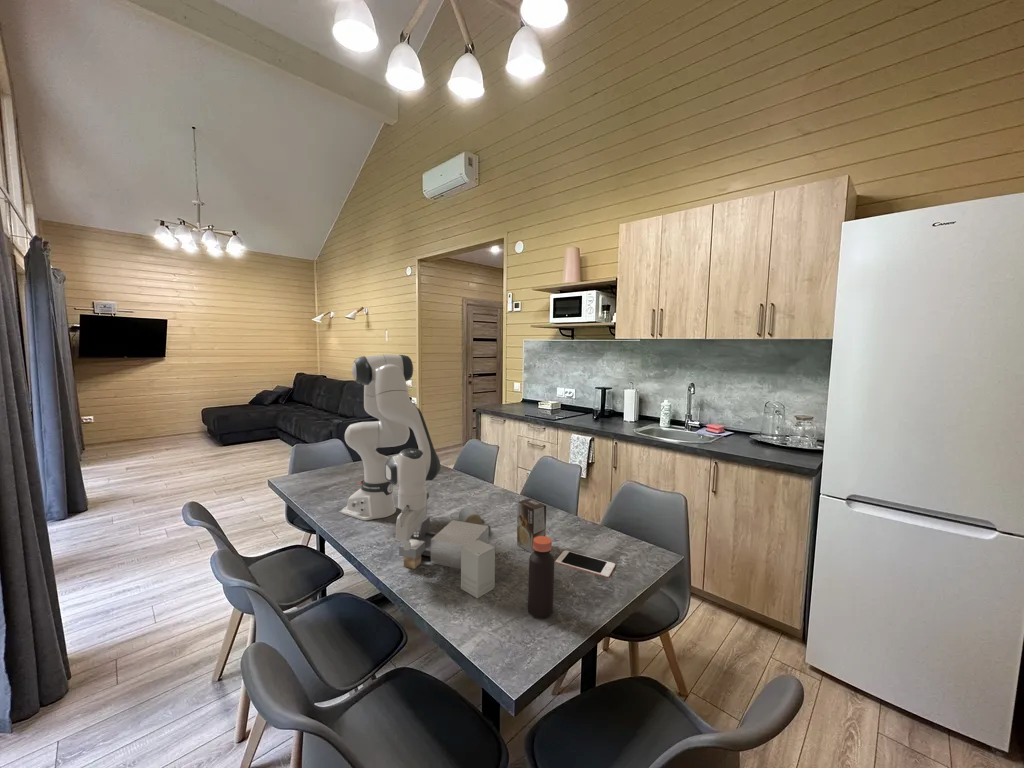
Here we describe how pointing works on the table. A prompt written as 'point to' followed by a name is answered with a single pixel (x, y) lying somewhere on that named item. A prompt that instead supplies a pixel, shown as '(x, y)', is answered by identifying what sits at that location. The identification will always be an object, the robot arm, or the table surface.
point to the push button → (413, 549)
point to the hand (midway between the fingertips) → (412, 542)
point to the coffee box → (530, 522)
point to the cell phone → (585, 563)
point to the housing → (455, 542)
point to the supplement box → (477, 568)
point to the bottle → (541, 578)
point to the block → (412, 562)
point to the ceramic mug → (471, 516)
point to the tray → (425, 536)
